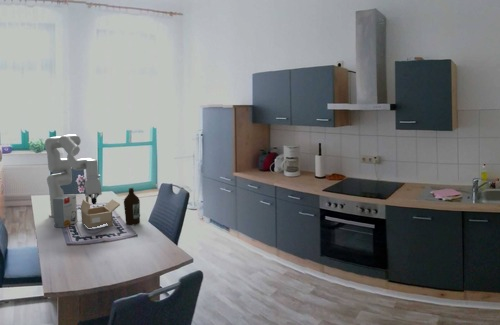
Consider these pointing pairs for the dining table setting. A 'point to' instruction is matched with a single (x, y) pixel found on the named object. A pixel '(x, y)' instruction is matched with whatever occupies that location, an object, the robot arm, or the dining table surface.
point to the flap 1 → (85, 207)
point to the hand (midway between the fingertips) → (94, 203)
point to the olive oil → (132, 208)
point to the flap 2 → (112, 205)
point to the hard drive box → (65, 210)
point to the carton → (97, 217)
